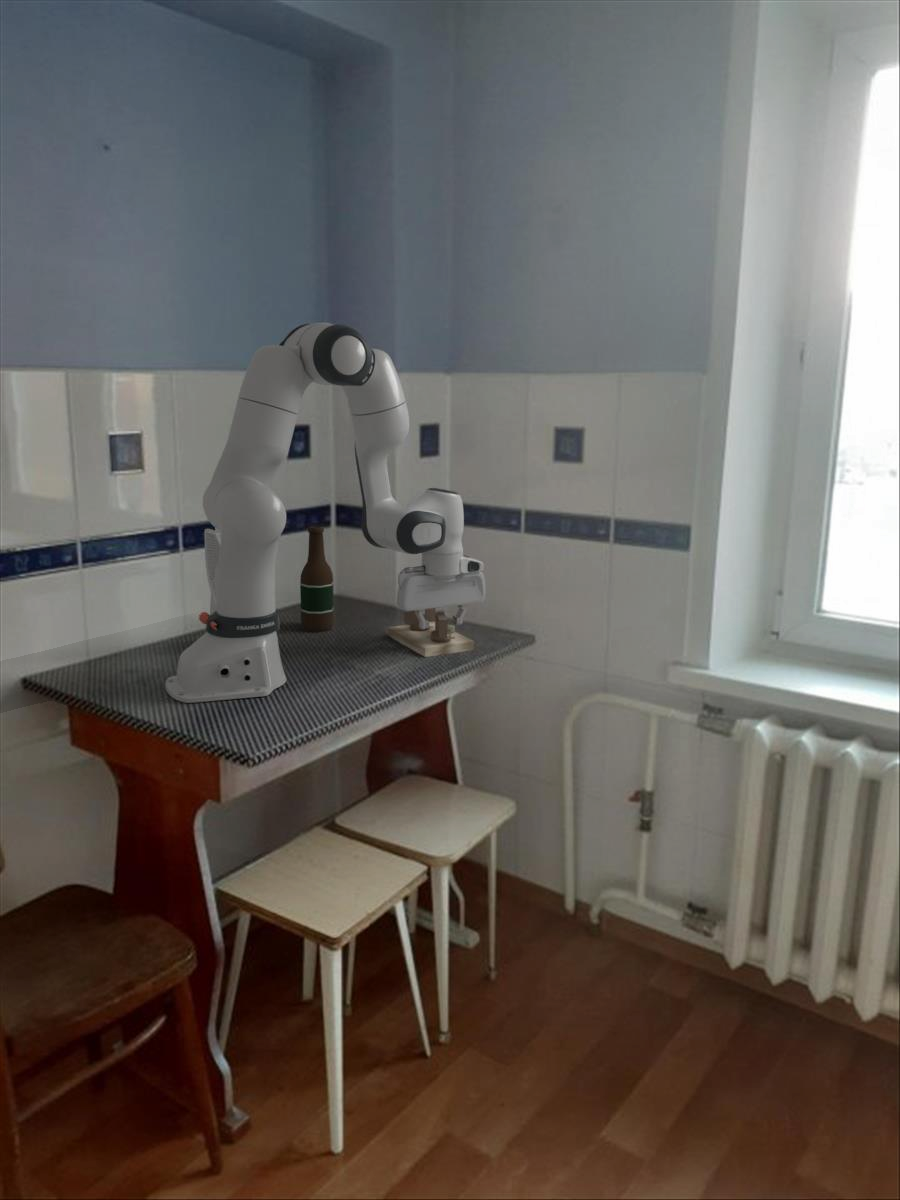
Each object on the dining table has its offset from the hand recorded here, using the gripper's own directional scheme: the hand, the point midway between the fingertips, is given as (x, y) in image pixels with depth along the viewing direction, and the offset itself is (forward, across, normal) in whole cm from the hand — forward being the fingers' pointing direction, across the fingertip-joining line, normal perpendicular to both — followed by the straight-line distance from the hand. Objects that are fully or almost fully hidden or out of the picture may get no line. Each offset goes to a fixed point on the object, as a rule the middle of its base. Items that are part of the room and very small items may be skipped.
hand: (441, 626), depth 202 cm
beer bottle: (+5, -18, +27) cm, 33 cm away
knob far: (+3, 0, +10) cm, 10 cm away
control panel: (+5, 0, +5) cm, 7 cm away
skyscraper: (+6, -41, +22) cm, 47 cm away
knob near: (+3, 0, 0) cm, 3 cm away
